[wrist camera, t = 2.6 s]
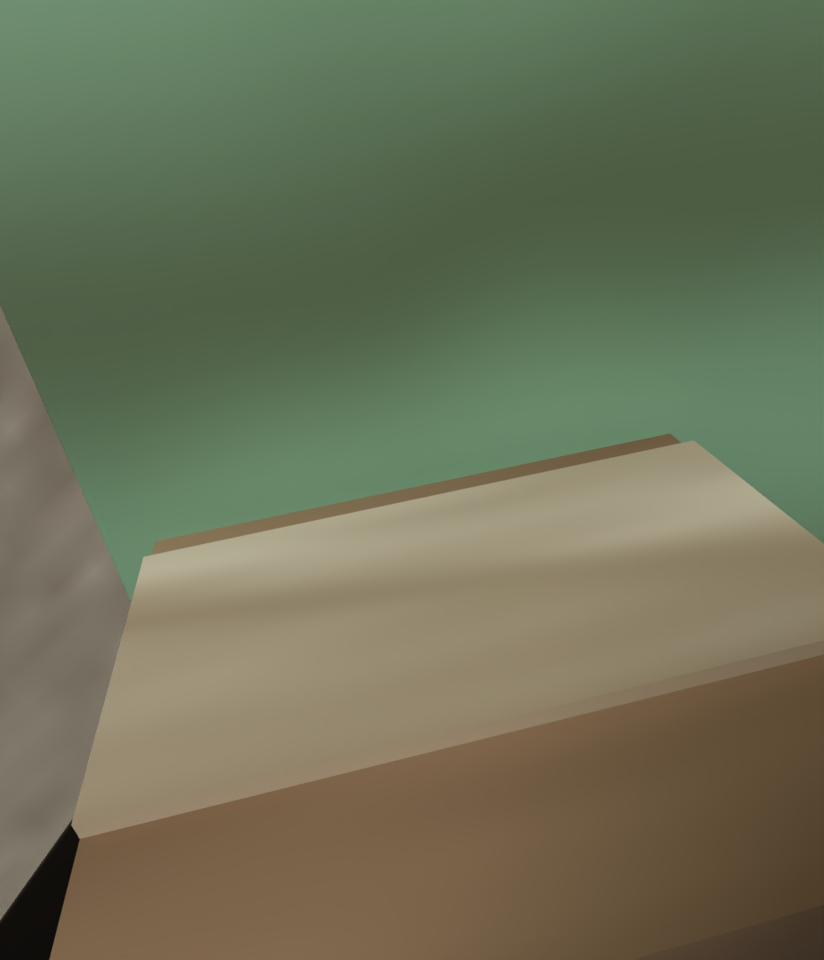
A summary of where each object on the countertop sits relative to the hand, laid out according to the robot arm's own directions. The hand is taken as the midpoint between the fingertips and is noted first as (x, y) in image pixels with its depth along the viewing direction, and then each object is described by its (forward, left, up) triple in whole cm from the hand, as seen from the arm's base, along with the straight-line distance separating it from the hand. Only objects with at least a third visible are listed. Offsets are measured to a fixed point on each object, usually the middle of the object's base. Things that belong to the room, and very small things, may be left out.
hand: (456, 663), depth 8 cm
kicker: (0, 0, -1) cm, 1 cm away
